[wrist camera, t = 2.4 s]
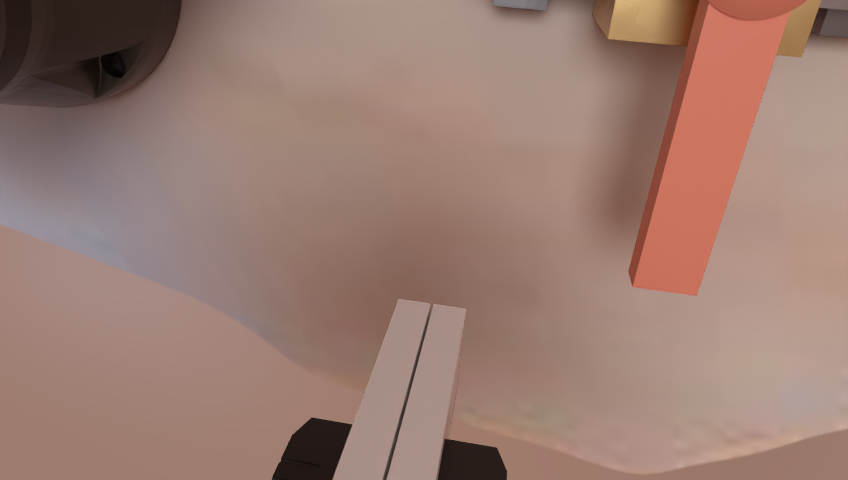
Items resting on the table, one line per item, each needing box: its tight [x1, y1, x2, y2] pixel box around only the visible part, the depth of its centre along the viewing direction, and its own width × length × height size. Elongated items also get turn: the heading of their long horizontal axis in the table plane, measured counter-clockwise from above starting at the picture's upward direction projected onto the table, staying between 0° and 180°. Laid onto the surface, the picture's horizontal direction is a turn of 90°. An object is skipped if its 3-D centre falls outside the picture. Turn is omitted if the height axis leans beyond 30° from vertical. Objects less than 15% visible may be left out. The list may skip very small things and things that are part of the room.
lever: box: [628, 0, 807, 296], centre depth 21 cm, size 14×4×2 cm, turn 176°
